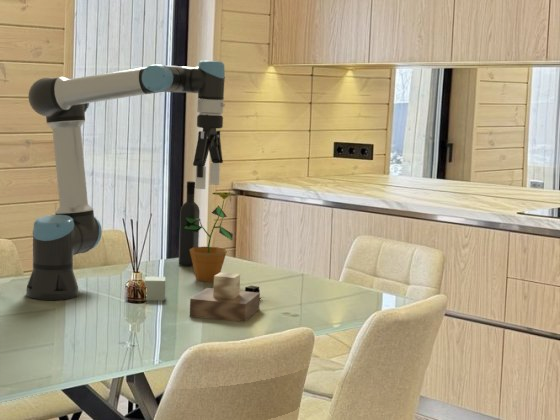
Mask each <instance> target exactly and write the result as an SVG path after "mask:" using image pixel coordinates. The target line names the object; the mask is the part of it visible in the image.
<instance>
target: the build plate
mask: <svg viewBox="0 0 560 420" xmlns="http://www.w3.org/2000/svg"><path fill="white" fill-rule="evenodd" d="M244 291H247V292H257V293H260V292H261V290H260V286H257V285H256V286H255V285H248V286H245V288H244ZM260 294H261V293H260ZM261 298H262V297H260V299H261Z"/></svg>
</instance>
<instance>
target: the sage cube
mask: <svg viewBox="0 0 560 420" xmlns="http://www.w3.org/2000/svg"><path fill="white" fill-rule="evenodd" d="M145 283H146V286H147V292H146V295H147V296H146V300H145V301H165V300H166V276H145V278H144V284H145Z"/></svg>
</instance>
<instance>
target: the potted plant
mask: <svg viewBox="0 0 560 420" xmlns="http://www.w3.org/2000/svg"><path fill="white" fill-rule="evenodd" d="M212 195H216V196H219V197H220V198H222V199H223V201H222V205H221V206H220V205H217V206H216V208H214V209H213V211H212V212H211V214H213V215H215V216H217V219H216V220H215V222H214V224H213V226H212V229H211V231H210V233H208V231H207V230H206V229H205V228H204V226H203V225H202V222H201V219H200V217H199V219H191V218H186V222H187V224H186V225H185V226H184V227H183V228H185V229H188V230H192V231H195V232H198V231H199V232H200V230H201V229H203V231H204V232H205V233H206V236H208V243H207V246H198V247H193V248H191V249H189V250H190V255H191V259H192V263H193V266H192V267H193V271H194V276H195V280H197V281H199V282H214V276H215V275H217V274H218V273H220V272H222V268H223V265H224V261H225V258H226V254H227V249H226V248H221V247H218V246H210V245H211V239H212V235H213V232H214V229H217V228H218V230H219V234H221V235H222V236H224V237H226V238H227V239H228V240H230V241H233V233H232V232H230V231H229V230H228V229H226V228H224V227H223V226H222V223H223V219H224V218H226V217H228V216H227V215H226V213H225V211H223V207H224V202H225V200H226V199H228V197H230V196H232V197H235V196H237V193H232V192H213V193H212ZM220 217H221V221H220V225H218V226H216V225H217V222H218V221H219V219H220ZM197 220H199V226H198V225H195V224H193V223H195V222H196V221H197Z"/></svg>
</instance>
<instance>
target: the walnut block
mask: <svg viewBox="0 0 560 420" xmlns="http://www.w3.org/2000/svg"><path fill="white" fill-rule="evenodd" d="M213 289H214V287H213V288H211V287H206V288H205V289H203V290H202V291H200V292H199V293H197V294H196V295H194V296H193V297H190V298H189V317H193V318H203V319H214V320H223V321H235V322H246V321H248V320H249V319H251V318H252V316H253V315H255V314H256V313H257V312H258V311H260V302H261V301H260V298H261V297H260V295H261V293H257V292H247V291H245V290H240V292H239V295H238V296H237V297H235V298H234V299H230V298H220V297H213ZM257 310H258V311H257ZM256 311H257V312H256ZM255 312H256V313H255ZM254 313H255V314H254Z"/></svg>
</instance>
